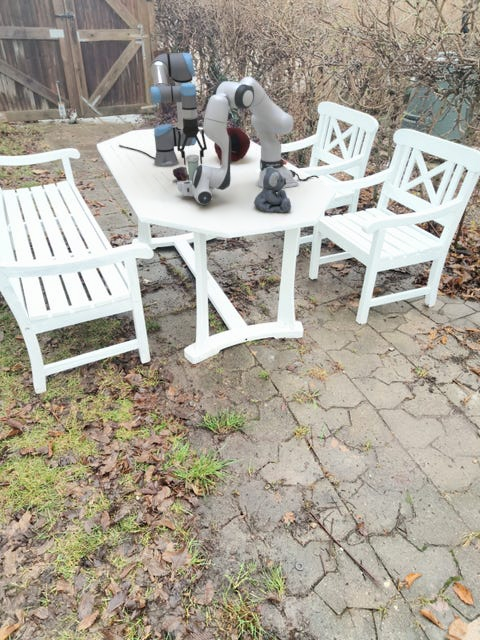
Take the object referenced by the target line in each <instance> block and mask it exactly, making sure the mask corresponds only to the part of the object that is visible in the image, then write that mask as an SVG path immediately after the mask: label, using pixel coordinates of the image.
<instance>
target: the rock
mask: <svg viewBox="0 0 480 640" xmlns="http://www.w3.org/2000/svg"><path fill="white" fill-rule="evenodd" d="M172 175H173V177H174V178H175V179H176V180H177V182H178V181H186V180H189V172H188V167H186V166H178V167H176V168H173V169H172Z"/></svg>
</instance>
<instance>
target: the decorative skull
mask: <svg viewBox="0 0 480 640" xmlns="http://www.w3.org/2000/svg"><path fill="white" fill-rule="evenodd" d="M227 133H228V135H229V136H230V138H231V163H236V162H238V161H241V160H242V159H244V158H245V157H246V155H247V153H248V152H249V149H250V147H251V139H250V138H249V136H248V134H246V132H245V131H243V130H242V129H240V128H238V127H233V126H232V127H231V126H230V127H227ZM213 147H214V151H215V154H216V156H217V158H218V160H219V165H220V166H221V164H222V150H221V148H220V146H219V145H218V144H216V143H215V142H214V144H213Z"/></svg>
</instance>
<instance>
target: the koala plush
mask: <svg viewBox="0 0 480 640" xmlns="http://www.w3.org/2000/svg"><path fill="white" fill-rule="evenodd" d="M285 185H286V181H285V180H284V179H283V177H282V175H281V174H280V173H279V171H278V170H275V169H274V168H273V167H271V166H269V167H267V168H266V173H265V176H264V179H263V187H262V190H261V191H260V192H258V194H257V195H256V197H255V198H254V201H253V205H254V207H255V208H256V209H257V210H261V211H263V212H267V213H271V212H275V213H288V212H290V211H291V210H292V204H291V203H292V202H291V200H290V198H288V195H287V192H286V190H285V189H284V188H283V187H284V186H285Z"/></svg>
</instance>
